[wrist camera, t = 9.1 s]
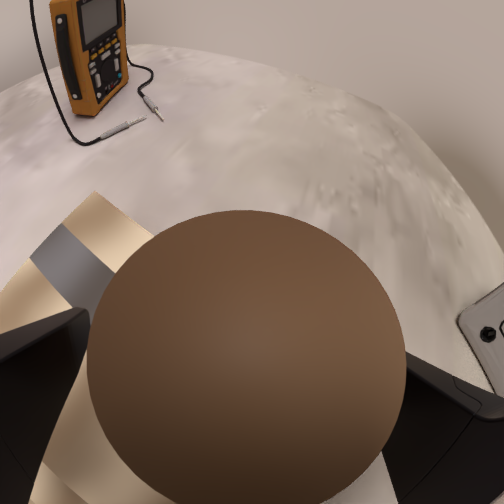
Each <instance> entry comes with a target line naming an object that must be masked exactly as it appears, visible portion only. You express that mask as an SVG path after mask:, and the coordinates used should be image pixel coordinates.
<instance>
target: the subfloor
mask: <svg viewBox="0 0 504 504" xmlns="http://www.w3.org/2000/svg"><path fill="white" fill-rule="evenodd" d="M153 237H154V236H153V235H152V234H150V233H149V232H148V231H146V230H145V229H144V228H142V227H141V226H140V225H139V224H137V223H136V222H135V221H133V220H132V219H131V218H129V217H128V216H127V215H125V214H124V213H123V212H122V211H120V210H119V209H118V208H116V207H115V206H114V205H113V204H111V203H110V202H109V201H107V200H106V199H105V198H104V197H102V196H101V195H100V194H99V193H97V192H96V191H94V192H93V193H92V194H91V195H90V196H89V197H88V198H86V199H85V200H84V201H83V202H82V203H81V204H80V205H79V206H78V207H77V208H76V209H75V210H74V211H73V212H72V213H71V214H70V215H69V216H68V217H67V218H66V219H65V220H64V221H63V222H62V223H61V224H60V225H59V226H58V227H57V228H56V229H55V230H54V231H53V232H52V233H51V234H50V235H49V236H48V237H47V238H46V239H45V240H44V242H43V243H42V244H41V245H40V246H39V247H38V248H37V249H36V250H35V251H34V253H33V254H32V255H31V256H30V257H29V258H28V259H27V261H26V262H25V263H24V264H23V265H22V266H21V268H20V269H19V270H18V271H17V272H16V274H15V275H14V276H13V277H12V279H11V280H10V281H9V282H8V284H7V285H6V286H5V287H4V289H3V290H2V291H1V293H0V334H2V333H4V332H7V331H10V330H13V329H15V328H18V327H21V326H24V325H26V324H29V323H32V322H35V321H38V320H40V319H43V318H46V317H49V316H51V315H54V314H57V313H60V312H63V311H65V310H68V309H71V308H74V307H81V308H86V309H87V310H88V311H89V316H90V324H92V320H93V317H94V314H95V311H96V308H97V306H98V303H99V301H100V299H101V297H102V295H103V293H104V291H105V289H106V287H107V286H108V284H109V283H110V281H111V279H112V278H113V276H114V275H115V273H116V272H117V271H118V270H119V268H120V267H121V266H122V265H123V264H124V263H125V261H126V260H127V259H128V258H129V257H130V256H131V255H132V254H133V253H134V252H135V251H137V250H138V249H139V248H140V247H141V246H142V245H143V244H145V243H146V242H147V241H149V240H150V239H152V238H153ZM28 504H177V503H175V502H173V501H172V500H170V499H168V498H166V497H165V496H163V495H161V494H160V493H158V492H156V491H155V490H154V489H152V488H151V487H150V486H148V485H147V484H146V483H145V482H143V481H142V480H141V479H140V478H139V477H137V476H136V475H135V474H134V473H133V472H132V471H131V469H130V468H129V467H128V466H127V465H126V464H125V463H124V462H123V461H122V460H121V458H120V457H119V456H118V454H117V453H116V451H115V450H114V449H113V447H112V446H111V444H110V443H109V441H108V439H107V438H106V436H105V434H104V432H103V430H102V428H101V426H100V423H99V421H98V419H97V417H96V414H95V410H94V407H93V404H92V401H91V397H90V392H89V386H88V379H87V350H86V353H85V356H84V359H83V362H82V364H81V367H80V370H79V373H78V376H77V378H76V380H75V382H74V385H73V387H72V389H71V391H70V393H69V395H68V398H67V400H66V402H65V405H64V407H63V409H62V411H61V414H60V416H59V419H58V421H57V423H56V426H55V428H54V431H53V433H52V436H51V438H50V441H49V443H48V446H47V449H46V451H45V454H44V457H43V460H42V462H41V465H40V468H39V471H38V474H37V477H36V480H35V482H34V487H33V490H32V493H31V496H30V500H29V503H28Z"/></svg>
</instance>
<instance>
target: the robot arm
mask: <svg viewBox="0 0 504 504" xmlns="http://www.w3.org/2000/svg"><path fill="white" fill-rule="evenodd" d="M90 327H91V324H90V316H89V311H88V310H87V309H86V308H81V307H74V308H71V309H68V310H65V311H63V312H60V313H57V314H54V315H51V316H49V317H46V318H43V319H40V320H38V321H35V322H32V323H29V324H26V325H24V326H21V327H18V328H15V329H13V330H10V331H7V332H4V333H2V334H0V504H28V503H29V500H30V496H31V493H32V490H33V487H34V482H35V480H36V477H37V474H38V471H39V468H40V465H41V462H42V460H43V457H44V454H45V451H46V449H47V446H48V443H49V441H50V438H51V436H52V433H53V431H54V428H55V426H56V423H57V421H58V419H59V416H60V414H61V411H62V409H63V407H64V405H65V402H66V400H67V398H68V395H69V393H70V391H71V389H72V387H73V385H74V382H75V380H76V378H77V376H78V373H79V370H80V367H81V364H82V362H83V359H84V356H85V353H86V350H87V345H88V338H89V332H90ZM405 353H406V384H405V390H404V396H403V402H402V405H401V409H400V412H399V415H398V418H397V421H396V423H395V426H394V428H393V430H392V432H391V434H390V437H389V439H388V440H387V442H386V444H385V445H384V447H383V448H382V450H381V451H382V454H383V457H384V460H385V463H386V466H387V469H388V473H389V476H390V479H391V482H392V485H393V488H394V491H395V495H396V498H397V501H398V504H504V398H503V397H500V396H498V395H495V394H493V393H490V392H488V391H486V390H483V389H481V388H479V387H476V386H474V385H472V384H470V383H468V382H466V381H463V380H461V379H459V378H457V377H455V376H452V375H451V374H449V373H447V372H445V371H443V370H441V369H439V368H437V367H435V366H433V365H431V364H429V363H427V362H425V361H423V360H421V359H419V358H418V357H416V356H414V355H412V354H410V353H408V352H406V351H405Z"/></svg>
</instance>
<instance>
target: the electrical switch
mask: <svg viewBox="0 0 504 504" xmlns="http://www.w3.org/2000/svg"><path fill="white" fill-rule="evenodd" d="M459 326H460V328H461V329H462V331H463V333H464V334H465V336H466V338H467V339H468V341H469V343H470V345H471V346H472V348H473V350H474V352H475V353H476V355H477V357H478V359H479V361H480V363H481V364H482V366H483V368H484V370H485V372H486V374H487V376H488V378H489V380H490V382H491V384H492V386H493V388H494V390H495V392H496V394H497V395H498V396H503V397H504V283H502V284H501V285H500V286H498V287H497V288H495V289H494V290H493V291H491V292H490V293H489V294H487V295H486V296H484V297H483V298H481V299H480V300H479V301H477V302H476V303H475V305H474V304H472V305H471V306H469V307H468V308H466V309H465V310H463V311H462V313H461V315H460V318H459Z"/></svg>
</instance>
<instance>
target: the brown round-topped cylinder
mask: <svg viewBox="0 0 504 504" xmlns="http://www.w3.org/2000/svg"><path fill="white" fill-rule="evenodd" d="M87 379H88V386H89V392H90V397H91V401H92V404H93V407H94V410H95V414H96V417H97V419H98V421H99V423H100V426H101V428H102V430H103V432H104V434H105V436H106V438H107V439H108V441H109V443H110V444H111V446H112V447H113V449H114V450H115V451H116V453H117V454H118V456H119V457H120V458H121V460H122V461H123V462H124V463H125V464H126V465H127V466H128V467H129V468H130V469H131V471H132V472H133V473H134V474H135V475H136V476H137V477H139V478H140V479H141V480H142V481H143V482H145V483H146V484H147V485H148V486H150V487H151V488H152V489H154V490H155V491H156V492H158V493H160V494H161V495H163V496H165V497H166V498H168V499H170V500H172V501H173V502H175V503H177V504H320V503H322V502H324V501H326V500H328V499H330V498H331V497H333V496H334V495H336V494H337V493H339V492H340V491H342V490H343V489H345V488H346V487H348V486H349V485H350V484H351V483H352V482H354V481H355V480H356V479H357V478H358V477H359V476H360V475H361V474H362V473H363V472H364V471H365V470H366V469H367V468H368V467H369V466H370V464H371V463H372V462H373V461H374V460H375V458H376V457H377V456H378V455H379V453H380V451H381V450H382V448H383V447H384V445H385V444H386V442H387V440H388V439H389V437H390V434H391V432H392V430H393V428H394V426H395V423H396V421H397V418H398V415H399V412H400V409H401V405H402V402H403V396H404V390H405V384H406V353H405V344H404V339H403V335H402V330H401V326H400V323H399V320H398V317H397V315H396V312H395V309H394V307H393V305H392V303H391V301H390V299H389V297H388V295H387V293H386V291H385V290H384V288H383V287H382V285H381V283H380V282H379V280H378V279H377V277H376V276H375V275H374V274H373V273H372V271H371V270H370V269H369V268H368V266H367V265H366V264H365V263H364V262H363V261H362V260H361V259H360V258H359V257H358V256H357V255H356V254H355V253H354V252H353V251H352V250H350V249H349V248H348V247H346V246H345V245H344V244H343V243H341V242H340V241H339V240H337V239H336V238H334V237H332V236H331V235H329V234H328V233H326V232H324V231H323V230H321V229H319V228H316V227H314V226H312V225H310V224H308V223H306V222H303V221H300V220H297V219H294V218H291V217H288V216H284V215H279V214H275V213H271V212H262V211H253V210H233V211H224V212H216V213H211V214H207V215H202V216H198V217H195V218H192V219H189V220H187V221H184V222H181V223H178V224H176V225H174V226H172V227H170V228H168V229H167V230H165V231H163V232H161V233H159V234H158V235H156V236H155V237H153V238H152V239H150V240H149V241H147V242H146V243H145V244H143V245H142V246H141V247H140V248H139V249H138V250H137V251H135V252H134V253H133V254H132V255H131V256H130V257H129V258H128V259H127V260H126V261H125V263H124V264H123V265H122V266H121V267H120V268H119V270H118V271H117V272H116V273H115V275H114V276H113V278H112V279H111V281H110V283H109V284H108V286H107V287H106V289H105V291H104V293H103V295H102V297H101V299H100V301H99V303H98V306H97V308H96V311H95V314H94V317H93V320H92V324H91V327H90V332H89V338H88V345H87Z"/></svg>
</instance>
